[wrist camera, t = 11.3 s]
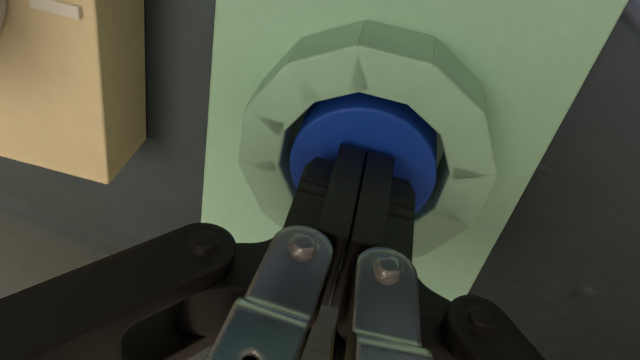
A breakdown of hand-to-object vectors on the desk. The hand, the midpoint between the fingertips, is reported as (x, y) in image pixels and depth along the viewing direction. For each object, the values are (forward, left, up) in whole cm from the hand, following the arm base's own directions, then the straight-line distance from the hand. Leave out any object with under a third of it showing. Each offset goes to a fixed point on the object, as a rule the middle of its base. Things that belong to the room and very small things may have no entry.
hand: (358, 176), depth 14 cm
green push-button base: (0, 0, -4) cm, 4 cm away
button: (0, 0, -2) cm, 2 cm away
